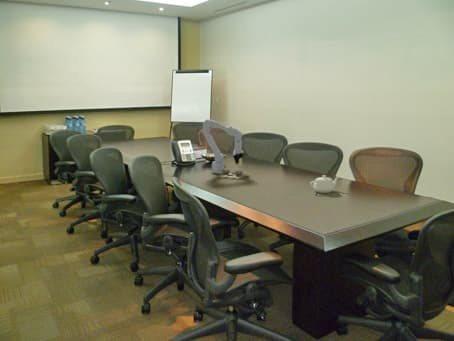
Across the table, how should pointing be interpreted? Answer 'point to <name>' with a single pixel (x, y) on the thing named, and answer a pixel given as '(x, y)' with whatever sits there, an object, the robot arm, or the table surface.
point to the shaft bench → (232, 174)
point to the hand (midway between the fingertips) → (238, 163)
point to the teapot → (324, 184)
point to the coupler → (239, 162)
